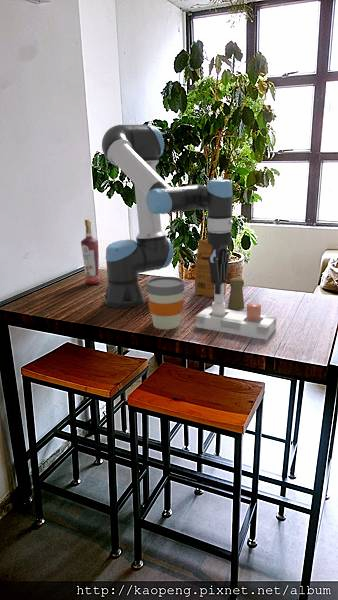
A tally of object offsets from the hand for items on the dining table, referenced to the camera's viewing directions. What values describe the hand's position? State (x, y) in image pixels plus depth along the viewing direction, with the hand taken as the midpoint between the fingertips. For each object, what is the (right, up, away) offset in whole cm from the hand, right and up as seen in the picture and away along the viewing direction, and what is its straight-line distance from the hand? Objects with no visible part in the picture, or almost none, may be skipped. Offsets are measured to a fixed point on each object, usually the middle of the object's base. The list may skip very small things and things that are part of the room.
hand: (219, 302), depth 148 cm
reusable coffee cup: (-17, -8, +4) cm, 19 cm away
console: (+5, -8, 0) cm, 10 cm away
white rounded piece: (0, -4, +2) cm, 5 cm away
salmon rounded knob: (+11, -5, -4) cm, 12 cm away
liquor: (-50, +8, +52) cm, 73 cm away
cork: (+8, -2, +19) cm, 21 cm away
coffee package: (0, +3, +34) cm, 34 cm away
